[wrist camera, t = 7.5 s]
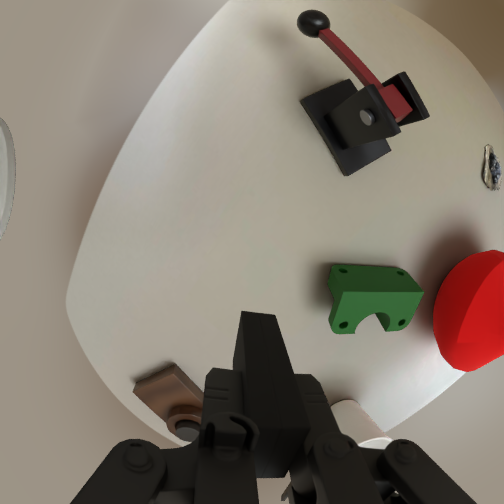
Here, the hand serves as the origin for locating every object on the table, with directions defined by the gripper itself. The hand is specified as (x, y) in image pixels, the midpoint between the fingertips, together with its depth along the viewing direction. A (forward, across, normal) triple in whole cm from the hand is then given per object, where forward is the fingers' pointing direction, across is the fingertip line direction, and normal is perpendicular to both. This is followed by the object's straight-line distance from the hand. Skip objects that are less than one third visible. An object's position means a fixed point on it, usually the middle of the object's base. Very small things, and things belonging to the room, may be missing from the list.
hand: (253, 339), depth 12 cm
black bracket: (+19, +10, +16) cm, 27 cm away
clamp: (+20, +16, -3) cm, 26 cm away
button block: (+19, -5, -25) cm, 32 cm away
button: (+16, -4, -26) cm, 31 cm away
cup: (+20, +20, -25) cm, 38 cm away
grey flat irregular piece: (+20, +38, +20) cm, 47 cm away
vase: (+20, +35, -2) cm, 40 cm away
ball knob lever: (+12, +6, +20) cm, 24 cm away
